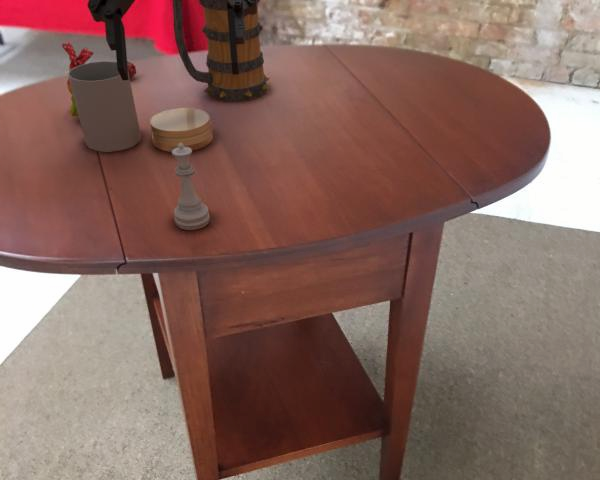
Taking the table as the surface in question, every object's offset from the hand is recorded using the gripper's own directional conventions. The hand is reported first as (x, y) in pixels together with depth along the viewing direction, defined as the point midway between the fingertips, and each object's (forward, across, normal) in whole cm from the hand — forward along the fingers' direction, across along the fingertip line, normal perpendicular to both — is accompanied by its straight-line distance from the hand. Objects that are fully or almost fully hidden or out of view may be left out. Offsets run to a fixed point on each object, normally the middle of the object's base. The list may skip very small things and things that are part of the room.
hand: (179, 72), depth 77 cm
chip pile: (0, +2, -21) cm, 21 cm away
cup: (-1, +13, -22) cm, 25 cm away
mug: (-14, -5, -34) cm, 37 cm away
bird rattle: (-9, +19, -30) cm, 37 cm away
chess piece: (+18, 0, -3) cm, 18 cm away
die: (-21, +13, -41) cm, 48 cm away
